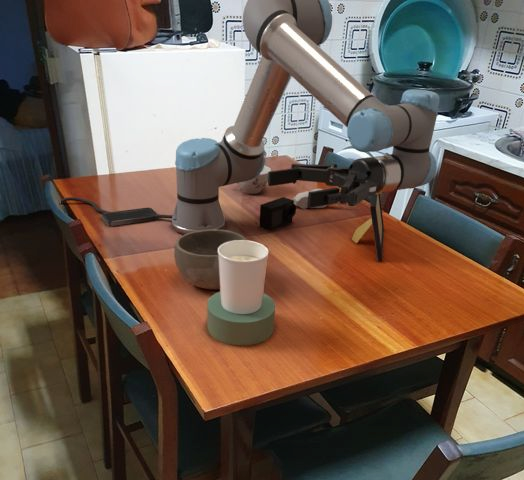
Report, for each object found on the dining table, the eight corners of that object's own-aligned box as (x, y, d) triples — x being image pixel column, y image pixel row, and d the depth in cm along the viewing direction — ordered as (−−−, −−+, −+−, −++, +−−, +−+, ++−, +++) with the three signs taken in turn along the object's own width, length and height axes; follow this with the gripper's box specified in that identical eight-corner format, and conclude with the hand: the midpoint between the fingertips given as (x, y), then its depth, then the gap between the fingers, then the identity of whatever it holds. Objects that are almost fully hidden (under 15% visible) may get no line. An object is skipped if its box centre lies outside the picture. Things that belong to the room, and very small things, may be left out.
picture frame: (382, 261, 145) (385, 206, 137) (348, 260, 147) (349, 206, 139) (383, 229, 164) (387, 179, 156) (353, 229, 166) (355, 179, 157)
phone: (158, 216, 160) (107, 222, 154) (159, 219, 161) (108, 226, 155) (150, 207, 166) (100, 213, 160) (150, 210, 167) (101, 216, 160)
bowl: (181, 262, 139) (180, 224, 133) (251, 266, 139) (252, 229, 133) (169, 295, 125) (167, 254, 119) (247, 299, 125) (249, 259, 119)
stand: (195, 334, 112) (194, 311, 109) (225, 304, 122) (225, 282, 119) (258, 352, 108) (259, 329, 104) (283, 319, 118) (285, 297, 115)
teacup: (275, 195, 184) (277, 171, 179) (241, 199, 179) (241, 174, 175) (258, 182, 195) (259, 159, 191) (225, 184, 191) (225, 161, 186)
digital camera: (272, 233, 157) (274, 209, 153) (258, 227, 160) (260, 204, 156) (295, 224, 164) (297, 201, 160) (281, 218, 167) (283, 196, 163)
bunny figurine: (291, 189, 178) (335, 183, 180) (291, 204, 181) (335, 198, 183) (298, 199, 170) (344, 193, 172) (298, 215, 173) (344, 208, 175)
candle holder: (271, 298, 115) (275, 245, 108) (255, 320, 107) (258, 265, 100) (228, 289, 117) (229, 236, 110) (209, 310, 109) (209, 255, 102)
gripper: (337, 142, 120) (255, 152, 110) (420, 174, 103) (330, 188, 93) (333, 177, 124) (253, 189, 114) (412, 212, 107) (325, 230, 97)
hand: (288, 189), depth 104 cm, fingers open, 13 cm apart
